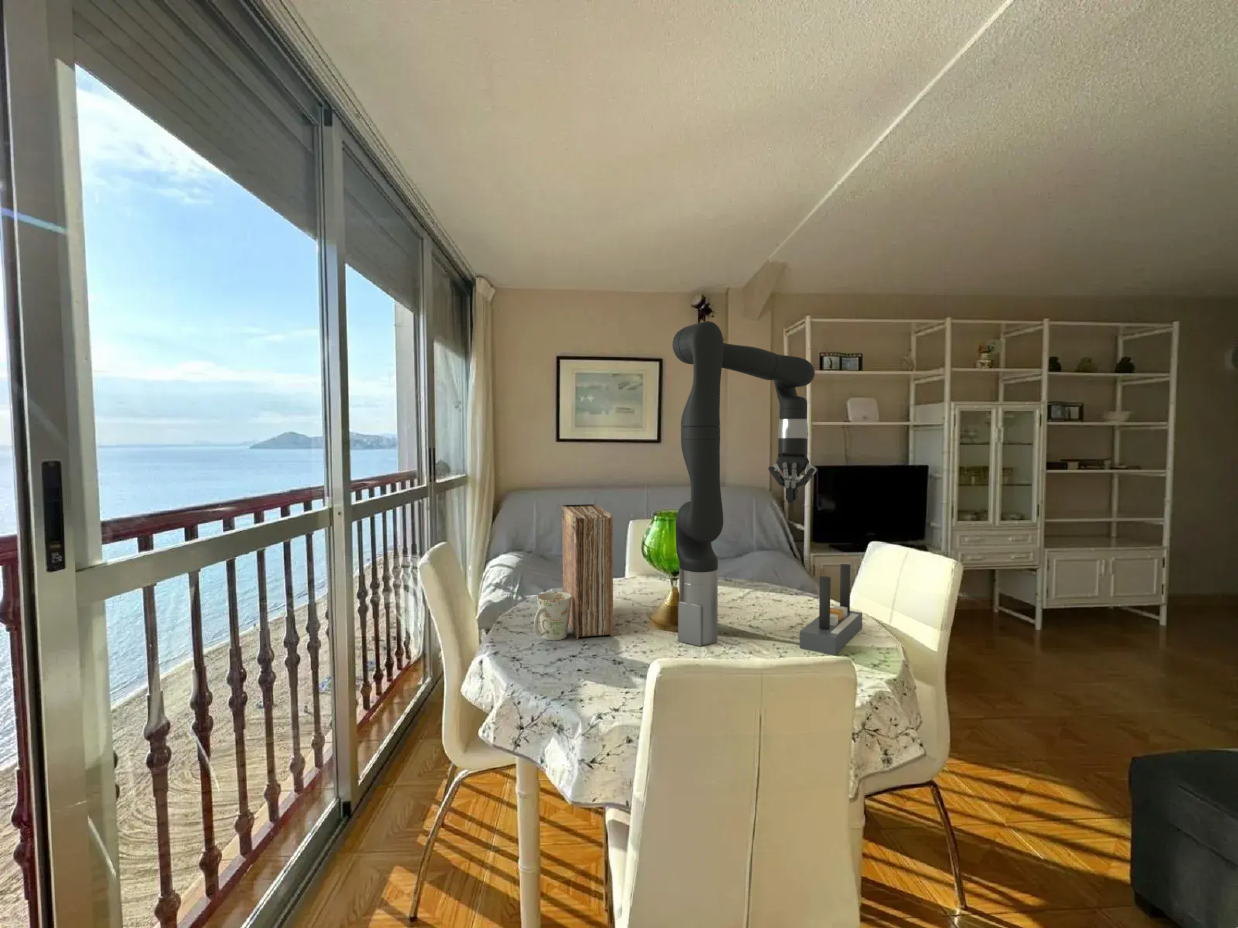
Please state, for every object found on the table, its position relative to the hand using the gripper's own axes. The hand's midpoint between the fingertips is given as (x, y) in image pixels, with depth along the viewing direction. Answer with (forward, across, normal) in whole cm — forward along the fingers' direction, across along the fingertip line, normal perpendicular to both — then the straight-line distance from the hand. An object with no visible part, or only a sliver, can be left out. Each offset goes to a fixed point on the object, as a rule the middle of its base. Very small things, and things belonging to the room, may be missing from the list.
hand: (791, 502), depth 157 cm
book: (+32, -42, -34) cm, 63 cm away
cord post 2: (+28, +13, +4) cm, 31 cm away
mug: (+32, -41, -49) cm, 71 cm away
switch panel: (+32, +13, -7) cm, 35 cm away
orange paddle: (+27, +13, -5) cm, 31 cm away
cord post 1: (+28, +14, -13) cm, 33 cm away
